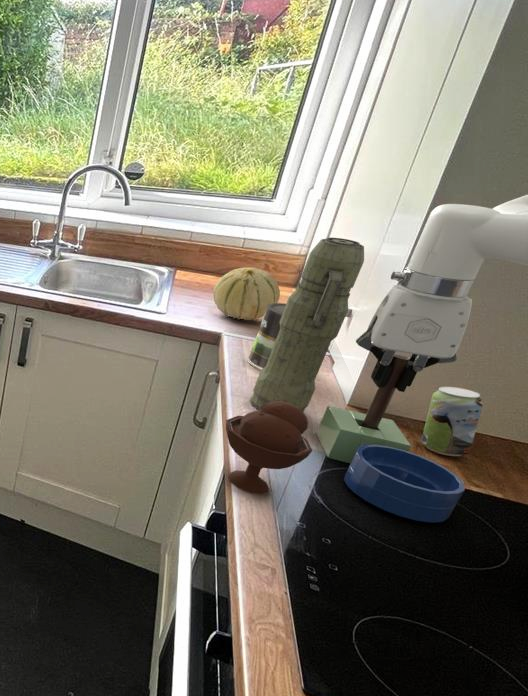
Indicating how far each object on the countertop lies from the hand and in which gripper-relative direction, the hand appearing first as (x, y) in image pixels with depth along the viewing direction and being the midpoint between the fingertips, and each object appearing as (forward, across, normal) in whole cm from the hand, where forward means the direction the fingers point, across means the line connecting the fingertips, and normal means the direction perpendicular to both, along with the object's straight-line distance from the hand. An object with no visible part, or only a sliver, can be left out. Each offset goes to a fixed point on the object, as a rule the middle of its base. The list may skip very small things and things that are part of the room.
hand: (388, 385), depth 99 cm
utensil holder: (+14, 0, 0) cm, 14 cm away
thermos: (+14, -10, +12) cm, 21 cm away
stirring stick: (+11, 0, 0) cm, 11 cm away
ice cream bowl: (+14, -18, -21) cm, 31 cm away
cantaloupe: (+14, -12, +68) cm, 70 cm away
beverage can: (+14, +14, +10) cm, 22 cm away
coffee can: (+14, -8, +35) cm, 38 cm away
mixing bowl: (+14, +2, -13) cm, 19 cm away
